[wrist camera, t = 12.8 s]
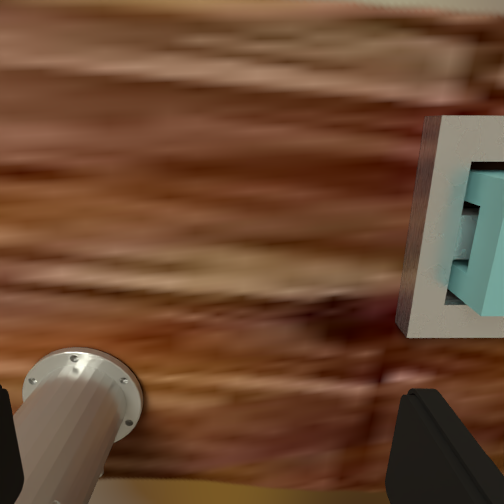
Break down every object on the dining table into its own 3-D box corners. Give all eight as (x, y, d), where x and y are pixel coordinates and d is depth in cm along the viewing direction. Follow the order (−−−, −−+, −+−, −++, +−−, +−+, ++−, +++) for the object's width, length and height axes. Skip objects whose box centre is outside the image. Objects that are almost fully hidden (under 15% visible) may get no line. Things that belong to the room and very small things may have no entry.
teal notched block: (479, 281, 37) (529, 316, 31) (439, 282, 37) (480, 316, 31) (503, 169, 34) (566, 181, 27) (459, 169, 34) (511, 180, 27)
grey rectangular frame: (510, 321, 39) (531, 337, 36) (395, 322, 39) (406, 337, 36) (563, 116, 32) (593, 116, 29) (424, 116, 32) (442, 115, 29)
